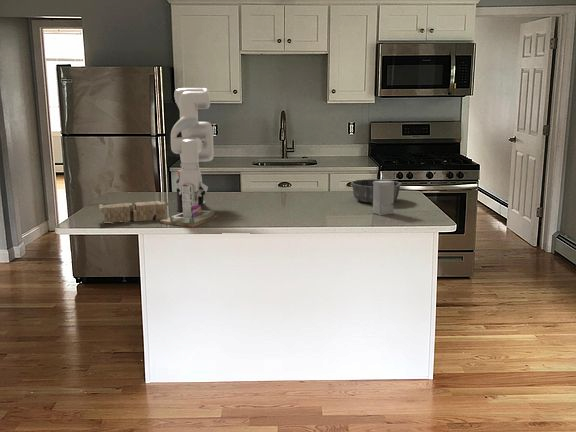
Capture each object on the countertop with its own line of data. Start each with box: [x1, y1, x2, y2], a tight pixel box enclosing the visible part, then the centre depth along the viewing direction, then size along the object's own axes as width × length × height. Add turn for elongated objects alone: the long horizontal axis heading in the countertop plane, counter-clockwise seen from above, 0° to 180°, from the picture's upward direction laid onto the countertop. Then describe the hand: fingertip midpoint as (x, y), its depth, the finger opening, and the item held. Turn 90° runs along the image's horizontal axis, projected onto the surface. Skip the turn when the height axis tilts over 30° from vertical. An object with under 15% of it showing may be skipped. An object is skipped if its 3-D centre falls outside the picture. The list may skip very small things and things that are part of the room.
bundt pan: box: [350, 178, 402, 204], centre depth 332 cm, size 26×26×10 cm
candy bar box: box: [181, 184, 202, 218], centre depth 286 cm, size 11×5×16 cm, turn 166°
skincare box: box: [372, 180, 395, 216], centre depth 301 cm, size 8×7×16 cm
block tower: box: [98, 200, 166, 223], centre depth 290 cm, size 8×8×29 cm
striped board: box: [159, 209, 218, 228], centre depth 289 cm, size 18×20×3 cm
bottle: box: [175, 169, 183, 213], centre depth 309 cm, size 7×7×20 cm
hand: (191, 203), depth 287 cm, fingers open, 9 cm apart
